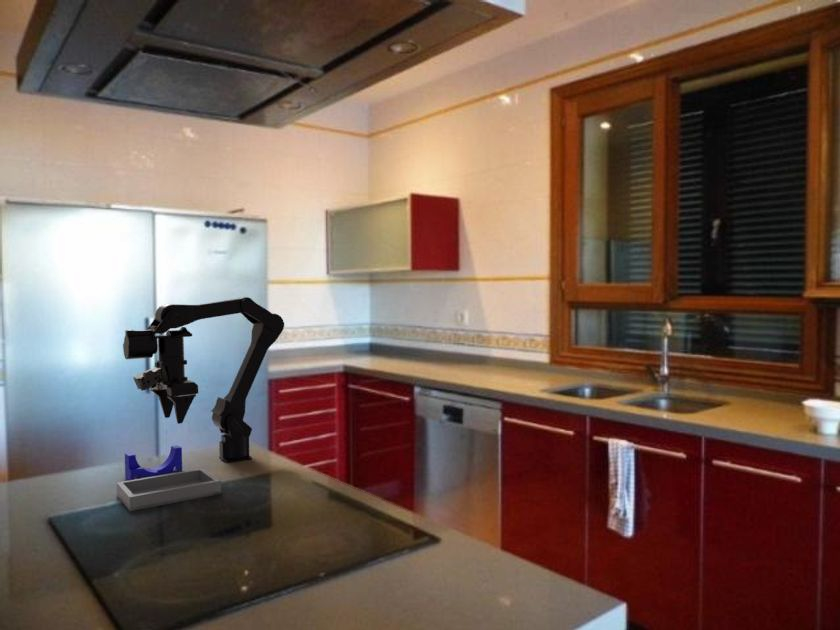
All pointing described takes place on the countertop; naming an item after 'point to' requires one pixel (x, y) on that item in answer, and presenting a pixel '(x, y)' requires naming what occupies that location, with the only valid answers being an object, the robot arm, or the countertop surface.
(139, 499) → the parts tray
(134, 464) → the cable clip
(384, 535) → the countertop surface
